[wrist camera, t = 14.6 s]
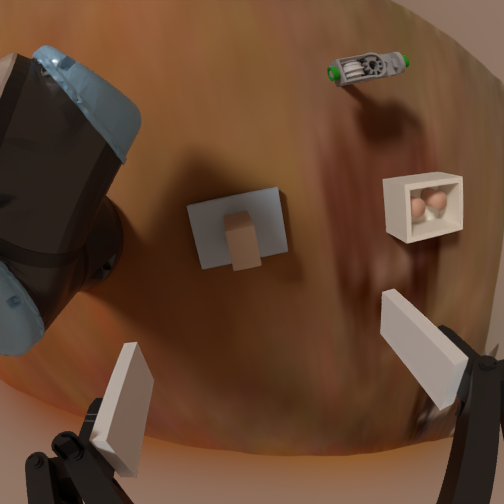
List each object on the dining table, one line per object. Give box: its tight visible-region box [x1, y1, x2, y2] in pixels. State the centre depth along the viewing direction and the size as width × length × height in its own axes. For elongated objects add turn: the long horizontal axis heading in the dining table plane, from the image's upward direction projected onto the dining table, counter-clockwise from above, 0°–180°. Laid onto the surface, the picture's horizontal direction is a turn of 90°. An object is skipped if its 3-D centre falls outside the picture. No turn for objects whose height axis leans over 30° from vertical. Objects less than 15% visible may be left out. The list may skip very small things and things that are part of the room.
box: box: [382, 172, 463, 244], centre depth 40 cm, size 11×8×6 cm
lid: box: [187, 187, 288, 271], centre depth 37 cm, size 12×9×10 cm
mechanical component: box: [327, 52, 409, 87], centre depth 31 cm, size 3×10×10 cm, turn 110°
